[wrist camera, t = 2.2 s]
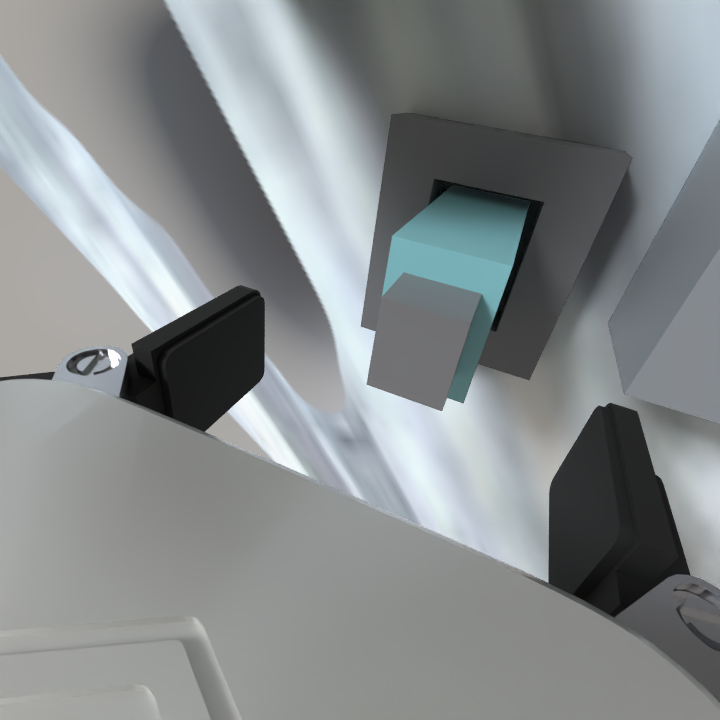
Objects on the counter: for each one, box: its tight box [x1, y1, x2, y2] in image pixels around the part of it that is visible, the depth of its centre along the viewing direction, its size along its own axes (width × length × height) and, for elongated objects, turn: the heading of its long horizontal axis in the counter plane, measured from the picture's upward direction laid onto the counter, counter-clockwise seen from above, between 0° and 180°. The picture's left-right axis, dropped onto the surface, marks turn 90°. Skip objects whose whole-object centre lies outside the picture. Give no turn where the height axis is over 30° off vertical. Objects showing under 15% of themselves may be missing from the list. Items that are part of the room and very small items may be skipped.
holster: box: [361, 113, 633, 380], centre depth 19 cm, size 10×9×2 cm
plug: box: [367, 185, 530, 411], centre depth 16 cm, size 5×4×11 cm
